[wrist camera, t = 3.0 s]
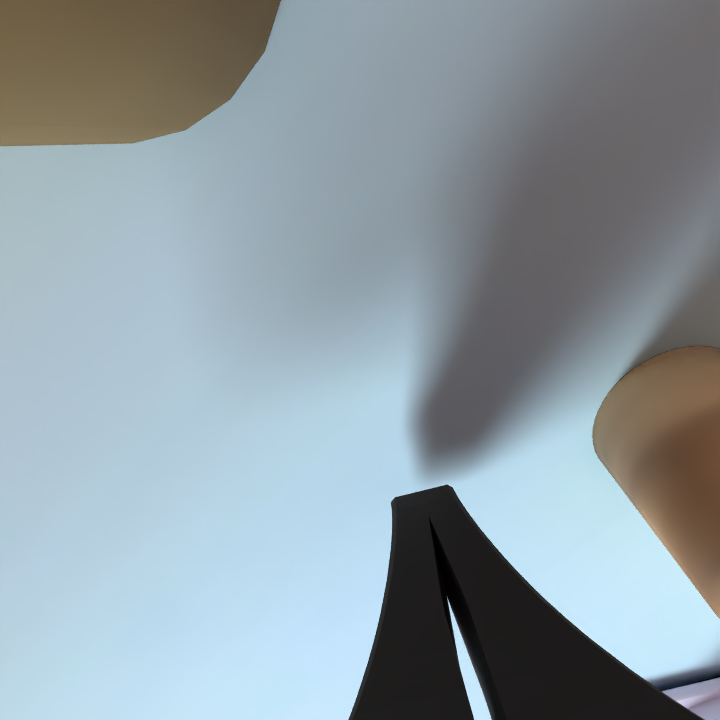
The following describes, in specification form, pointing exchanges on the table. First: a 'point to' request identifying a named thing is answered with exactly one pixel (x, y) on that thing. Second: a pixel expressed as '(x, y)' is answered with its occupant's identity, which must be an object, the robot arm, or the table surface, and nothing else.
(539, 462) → the table surface
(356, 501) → the table surface
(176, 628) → the table surface
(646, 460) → the oak dowel
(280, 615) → the table surface
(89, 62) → the cork
